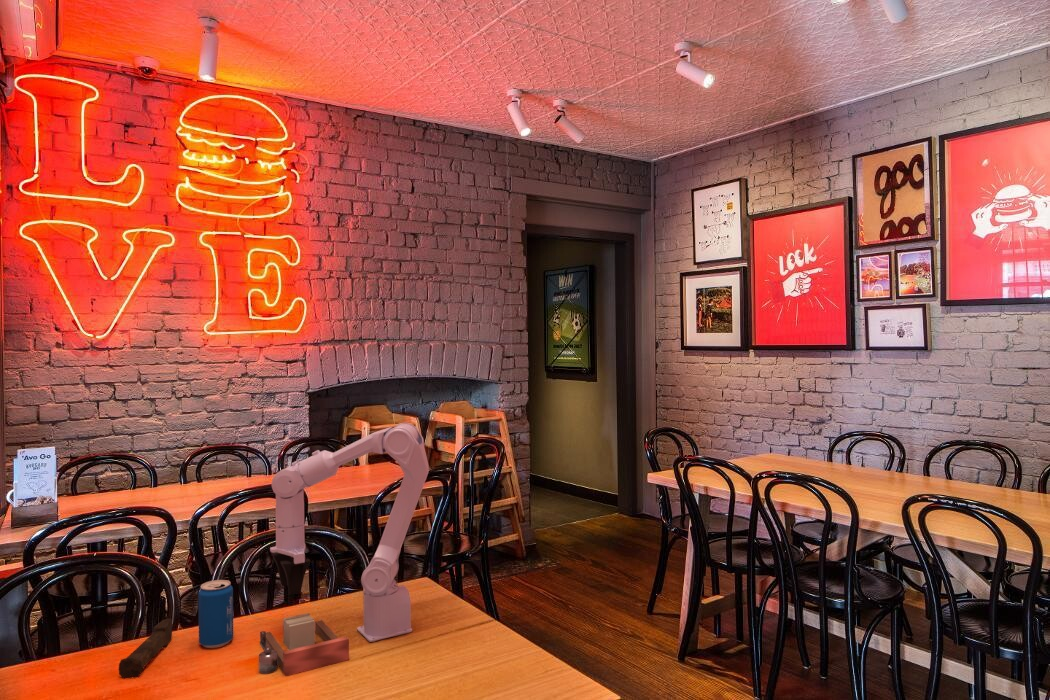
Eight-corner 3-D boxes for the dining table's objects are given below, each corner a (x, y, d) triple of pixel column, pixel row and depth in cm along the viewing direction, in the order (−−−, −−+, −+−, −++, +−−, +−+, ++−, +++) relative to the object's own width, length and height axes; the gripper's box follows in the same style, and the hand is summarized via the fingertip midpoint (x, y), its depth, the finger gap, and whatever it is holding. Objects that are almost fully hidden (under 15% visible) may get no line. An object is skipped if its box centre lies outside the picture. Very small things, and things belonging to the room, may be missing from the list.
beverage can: (220, 650, 139) (219, 590, 139) (191, 648, 140) (191, 588, 140) (240, 637, 145) (239, 580, 145) (212, 635, 147) (211, 578, 147)
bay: (321, 629, 149) (321, 610, 149) (349, 659, 134) (348, 638, 134) (263, 642, 143) (263, 623, 142) (285, 676, 128) (284, 654, 128)
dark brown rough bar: (140, 679, 128) (140, 654, 128) (117, 680, 128) (117, 654, 128) (184, 637, 147) (184, 615, 147) (165, 637, 146) (165, 615, 146)
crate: (308, 637, 145) (307, 612, 145) (315, 645, 141) (314, 619, 141) (283, 642, 143) (283, 617, 143) (289, 651, 139) (289, 625, 139)
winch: (271, 658, 135) (270, 629, 135) (279, 670, 130) (278, 640, 130) (253, 662, 133) (253, 633, 133) (261, 675, 128) (260, 644, 128)
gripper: (262, 520, 151) (263, 583, 151) (279, 535, 139) (279, 603, 139) (295, 515, 155) (296, 577, 155) (314, 529, 143) (315, 596, 143)
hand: (290, 589), depth 147 cm, fingers open, 6 cm apart
